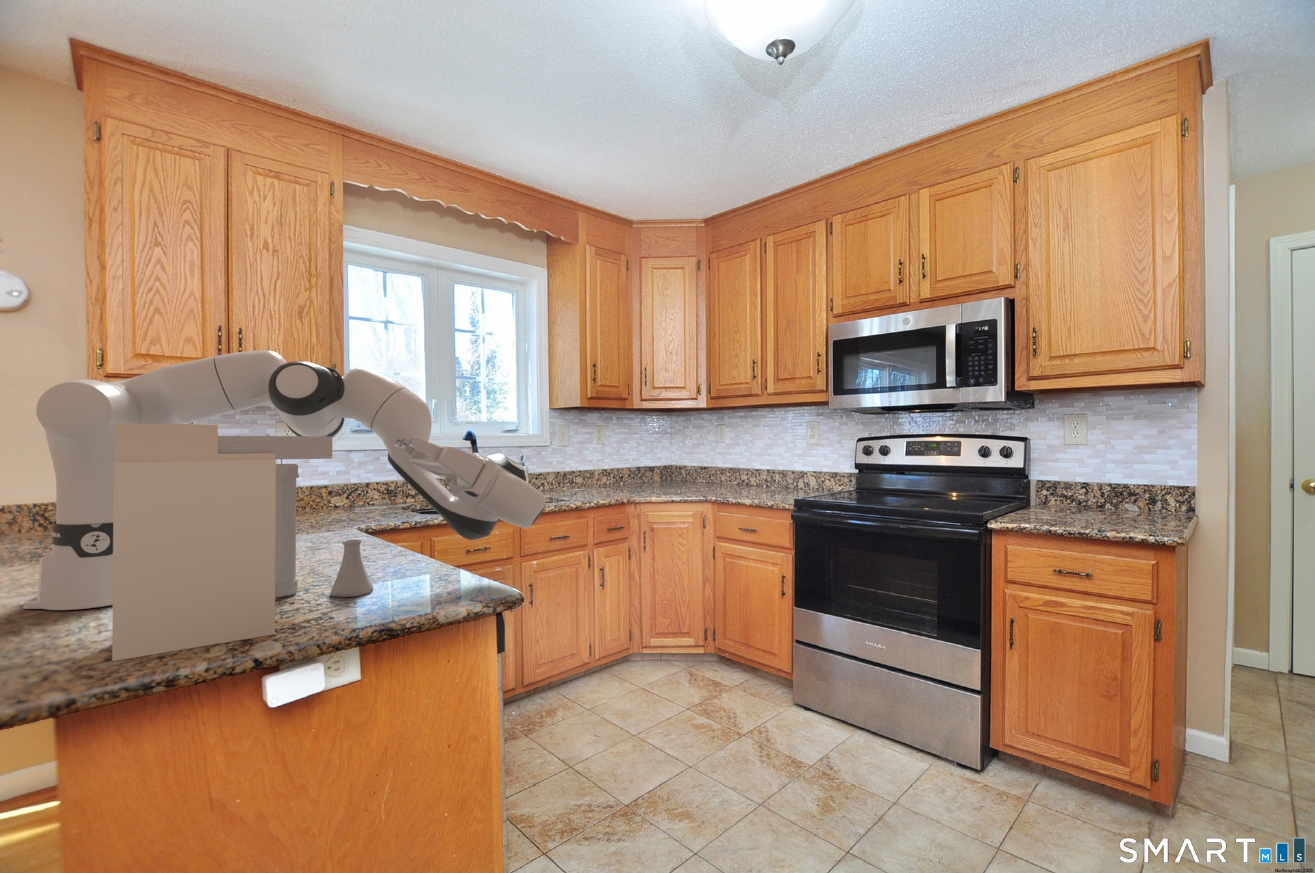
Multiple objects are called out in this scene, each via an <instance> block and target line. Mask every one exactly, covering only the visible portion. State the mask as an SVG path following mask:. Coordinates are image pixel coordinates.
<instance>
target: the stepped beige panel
mask: <svg viewBox="0 0 1315 873" xmlns="http://www.w3.org/2000/svg"><path fill="white" fill-rule="evenodd" d="M218 434H219V425H218V424H201V423H198V424H197V423H194V424H193V423H189V424H136V423H115V462H114V496H113V605H112V635H111V636H112V644H111V645H112V646H111V647H112V650H111V651H112V653H111V654H112V655H111V656H112V658H111V660H112V662H116V661H121V660H127V659H135V658H139V657H140V658H141V657H146V656H151V655H152V656H153V655H157V654H158V655H159V654H163V653H164V654H165V653H171V652H176V651H181V650H188V649H194V648H200V647H201V648H202V647H206V646H211V645H212V646H213V645H218V644H224V643H230V642H237V641H243V640H248V639H254V638H255V639H256V638H261V637H268V636H272V635H275V634H276V632H275V631H276V598H275V525H276V464H277V459H275V453H228V454H218V436H219V435H218Z"/></svg>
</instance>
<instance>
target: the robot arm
mask: <svg viewBox="0 0 1315 873" xmlns="http://www.w3.org/2000/svg"><path fill="white" fill-rule="evenodd" d="M256 407H267V408H268V407H269V408H273V409H275V411H276V412H277V415H278V416H279V418H280V419H281V420H282V422H284V423H285V425H286V426H287V428H288V429H289V430H290V431H291V432H292V433H293V434H294V435H295V436H332V439H333V438H334V437H336V436H337V435H338V434H339V433H340V431H341V430H342V428H343V426H344V423H345V419H350V420H354V421H356V422H358V423H361V424H362V425H364V426H365V427H366V428H368V429H369V430H370V431H372V432H373V433H374V434H376V435H377V436H378V437H379V439H381V440H382V442H383V444H384V445H385V447H386V449H387V452H388V454H387V461H388V463H389V464H390V466H391V467H392V468H393V469H394V471H395V472H397V474H398V475H399V476H400V477H401V478H402V479H403V480H404V481H405V482H406V483H407V484H408V485H409V486H410V487H411V488H412V489H413V490H414V491H415V492H416V493H417V494H418V495H419V496H420V497H421V498H423V499H424V500H425V502H427V504H429V505H430V507H432V508H433V509H434V510H435V511H436V512H437V513H438V514H439V516H441V518H442V519H443V520H444V521H445V522H446V523H447V525H448V526H449V527H450V528H451V530H453V531H454V532H455V533H456V534H458V536H460V537H462V538H464V539H466V540H469V541H475V540H480V539H484V538H486V537H489V536H490V535H491V534H492V532H493V530H494V529H495V527H496V525H497V523H498V522H499V520H501V521H504V522H505V523H508V524H510V525H513V526H516V527H520V528H521V529H522V528H523V529H527V528H529V527H531V526H532V525H534V524H535V522H537V520H538V519H539V518H540V516H541V514H542V513H543V511H544V509H545V506H546V502H547V501H546V500H547V498H546V496H545V495H544V494H543V493H541V492H540V490H538V489H537V488H536V487H534V486H532V485H531V484H530V483H529V482H527V476H526V472H525V467H524V466H523V465H521V464H520V463H519V462H516V461H514V460H512V459H511V458H509V457H507V456H505V455H504V454H503V453H501V452H496V453H491V454H488V455H486V456H485V457H484V456H483V455H480V454H479V453H477V452H473V453H469V452H468V451H465V450H463V449H461V448H457V447H455V446H451V445H437V444H434V443H432V442H429V440H430V436H431V432H432V414H431V411H430V410H431V409H430V408H429V405H428V404H427V403H426V402H425V401H424V400H423V399H422V398H421V397H420V396H418V395H417V394H416V393H414V391H411V390H410V389H409V388H407V387H406V386H404V385H403V384H401V383H400V382H398V381H396V380H394V379H392V378H390V376H387V375H385V374H383V373H381V372H379V371H377V370H374V369H372V368H370V367H366V366H365V367H364V366H361V367H359V366H358V367H356V368H352V369H351V370H349V371H348V372H346V373H345V374H344V375H343V376H342V374H340V372H339V371H338V370H337V369H335V368H333V367H328V366H321V365H319V364H316V363H313V362H309V361H304V360H303V361H302V360H297V361H295V360H294V361H289V362H288V361H287V360H286V358H284V357H283V356H282V355H281V354H279V353H278V352H275V351H272V350H264V349H263V350H248V351H240V352H239V351H238V352H231V353H224V354H219V355H214V356H208V357H206V358H200V359H195V360H190V361H186V362H180V363H176V364H175V363H174V364H171V365H166V366H163V367H161V368H159V369H156V370H154V371H150V372H146V373H144V374H140V375H136V376H134V377H129V378H125V379H122V380H116V381H101V380H97V379H89V378H79V379H71V380H67V381H64V382H61V383H59V384H55V385H54V386H51V387H49V388H48V389H47V390H46V391H44V392H43V393H42V395H40V397H39V399H38V401H37V404H36V406H35V408H36V410H35V411H36V416H37V419H38V422H39V423H40V425H41V426H42V428H43V429H44V432H45V436H46V440H47V441H46V442H47V444H48V449H49V454H50V457H51V461H52V463H53V464H52V465H53V470H54V474H55V475H54V476H55V483H56V485H55V489H56V490H55V491H56V492H55V493H56V494H55V495H56V500H55V502H56V505H55V506H56V509H55V510H56V511H55V512H56V513H55V514H56V515H55V517H56V521H55V522H56V523H54V524H52V530H51V537H52V538H51V540H52V541H51V544H52V545H54V546H53V548H52V549H51V550H50V551H49V552H47V553H46V554H45V555H44V556H43V557H41V558H40V560H39V568H38V569H39V570H38V571H39V572H38V582H37V583H38V584H37V596H34V597H32V598H30V599H28V600H26V601H24V602H23V606H22V607H23V608H22V609H23V610H31V609H32V610H34V609H35V610H36V609H37V610H38V609H39V610H40V609H41V610H47V611H69V610H70V611H71V610H82V609H91V608H93V609H94V608H101V607H107V606H113V496H114V462H115V423H136V424H193V423H196V422H200V421H204V420H209V419H212V418H217V417H221V416H224V415H228V414H232V413H237V412H240V411H241V412H242V411H245V410H247V409H252V408H256ZM434 475H435V476H436V477H440V478H443V479H445V483H446V484H447V485H449V488H446V487H445V486H444V485H443V484H442V483H441V482H440V481H439V480H438V479H437V478H436V477H434ZM448 489H449V490H448Z"/></svg>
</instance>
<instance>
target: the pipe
mask: <svg viewBox="0 0 1315 873" xmlns="http://www.w3.org/2000/svg"><path fill="white" fill-rule="evenodd" d="M265 436H270V434H268V433H265ZM299 478H300V473H299V465H298V464H297V463H283V459H280V463H276V525H275V599H276V598H285V597H289V596H292V595H295V594H296V593H297V592H298V583H299V578H298V577H296V576H297V574H296V573H297V572H296V571H297V569H296V567H297V566H296V565H297V561H296V560H297V547H296V546H297V479H299ZM284 596H285V597H284Z"/></svg>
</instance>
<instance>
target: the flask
mask: <svg viewBox="0 0 1315 873" xmlns="http://www.w3.org/2000/svg"><path fill="white" fill-rule="evenodd" d="M362 541H363V540H362V539H357V538H353V539H350V538H349V539H345V540H343V541H342V545H343V557H342V561H341V564H340V568H339V569H338V570H339V571H338V573H337V576H336V578H335V581H334V583H333V586H332V588H331V591H330V593H329V596H330V597H338V598H347V597H348V598H350V597H360V596H363V595H366V594H369V593H372V592H373V590H374V587H373V585H372V582H371V579H370V577H369V574H368V573H367V570H366V567H365V564H364V562H363V559H362V555H361V543H362Z"/></svg>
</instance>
